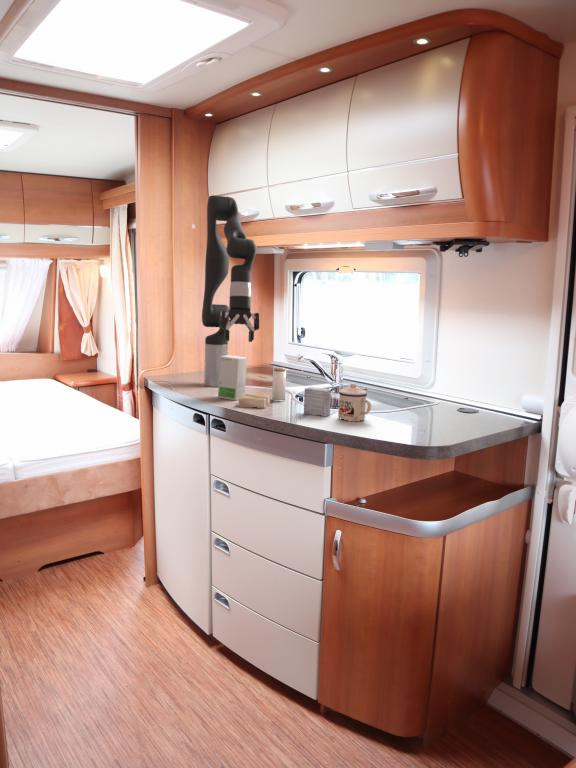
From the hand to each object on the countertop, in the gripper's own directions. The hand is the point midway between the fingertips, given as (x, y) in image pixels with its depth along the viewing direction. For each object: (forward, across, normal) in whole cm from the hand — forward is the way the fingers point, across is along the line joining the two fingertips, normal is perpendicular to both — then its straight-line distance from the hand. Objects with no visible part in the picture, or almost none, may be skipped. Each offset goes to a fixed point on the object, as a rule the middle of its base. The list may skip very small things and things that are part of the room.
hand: (238, 341), depth 218 cm
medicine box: (+24, -20, +24) cm, 39 cm away
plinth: (+22, -5, +6) cm, 23 cm away
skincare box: (+21, -1, -8) cm, 23 cm away
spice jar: (+21, -17, -2) cm, 27 cm away
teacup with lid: (+24, -29, +34) cm, 51 cm away
